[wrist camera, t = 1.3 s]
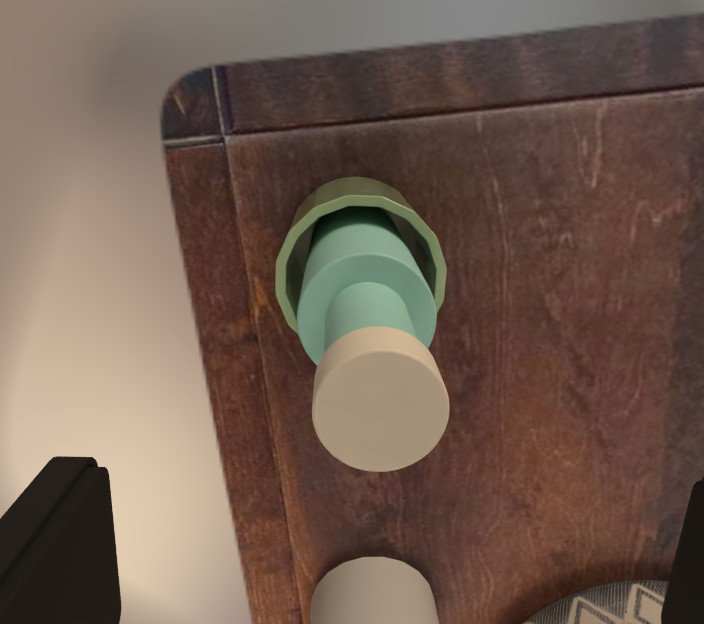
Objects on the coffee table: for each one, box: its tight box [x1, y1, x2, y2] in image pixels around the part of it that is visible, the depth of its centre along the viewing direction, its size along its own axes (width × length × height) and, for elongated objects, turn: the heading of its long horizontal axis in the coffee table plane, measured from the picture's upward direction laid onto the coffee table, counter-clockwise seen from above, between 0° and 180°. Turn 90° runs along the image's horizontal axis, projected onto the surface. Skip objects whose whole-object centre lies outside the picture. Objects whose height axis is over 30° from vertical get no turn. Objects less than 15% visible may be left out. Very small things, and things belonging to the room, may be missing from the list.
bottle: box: [297, 206, 449, 472], centre depth 21 cm, size 4×4×17 cm
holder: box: [275, 177, 447, 335], centre depth 26 cm, size 7×7×7 cm
